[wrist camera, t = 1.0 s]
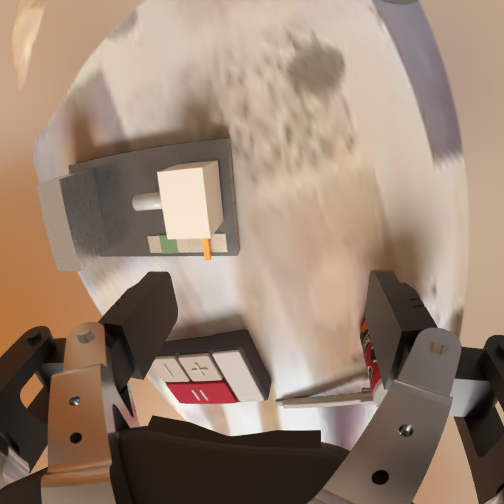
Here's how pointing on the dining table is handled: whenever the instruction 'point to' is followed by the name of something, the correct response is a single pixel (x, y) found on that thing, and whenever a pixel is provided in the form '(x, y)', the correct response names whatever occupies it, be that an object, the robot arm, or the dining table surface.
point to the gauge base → (129, 206)
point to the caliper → (329, 400)
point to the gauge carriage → (187, 201)
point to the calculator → (213, 369)
